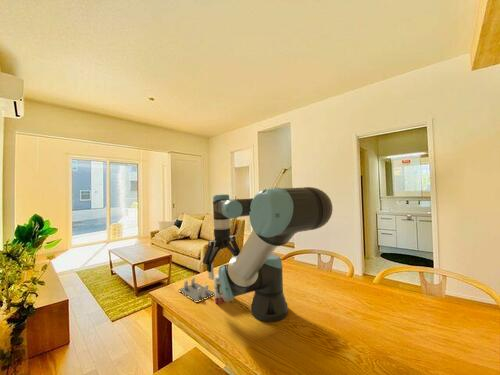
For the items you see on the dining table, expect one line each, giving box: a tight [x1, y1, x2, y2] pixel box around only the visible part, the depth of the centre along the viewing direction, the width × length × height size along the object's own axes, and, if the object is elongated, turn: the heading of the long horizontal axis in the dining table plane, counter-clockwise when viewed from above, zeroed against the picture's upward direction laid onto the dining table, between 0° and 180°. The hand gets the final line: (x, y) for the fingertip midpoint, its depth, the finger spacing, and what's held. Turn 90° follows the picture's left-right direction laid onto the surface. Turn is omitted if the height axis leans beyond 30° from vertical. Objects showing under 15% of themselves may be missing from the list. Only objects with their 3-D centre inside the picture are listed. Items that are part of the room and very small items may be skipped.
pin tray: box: [178, 277, 214, 301], centre depth 106 cm, size 17×10×5 cm, turn 45°
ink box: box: [213, 272, 235, 304], centre depth 99 cm, size 9×5×12 cm, turn 105°
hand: (223, 273), depth 99 cm, fingers open, 13 cm apart
